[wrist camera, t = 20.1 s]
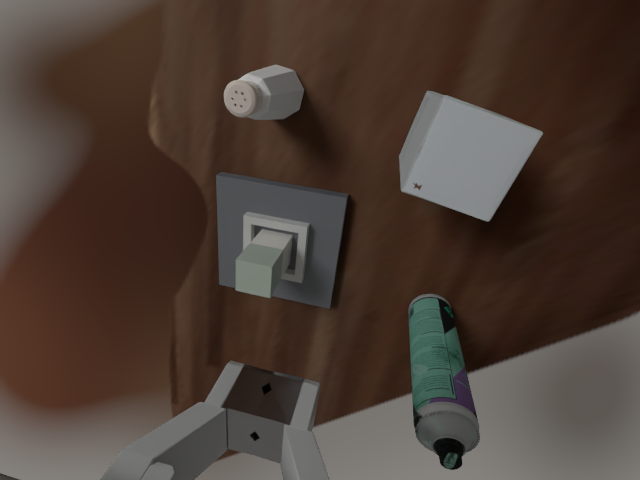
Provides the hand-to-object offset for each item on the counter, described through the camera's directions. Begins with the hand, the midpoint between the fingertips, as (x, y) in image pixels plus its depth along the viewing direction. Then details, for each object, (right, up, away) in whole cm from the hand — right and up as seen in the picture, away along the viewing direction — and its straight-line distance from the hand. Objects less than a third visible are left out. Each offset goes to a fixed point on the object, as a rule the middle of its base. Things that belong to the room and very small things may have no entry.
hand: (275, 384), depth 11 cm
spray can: (+16, -5, +34) cm, 38 cm away
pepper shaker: (-3, +21, +26) cm, 33 cm away
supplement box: (+15, +16, +25) cm, 33 cm away
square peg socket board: (-4, +5, +34) cm, 34 cm away
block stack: (-4, +4, +33) cm, 33 cm away
